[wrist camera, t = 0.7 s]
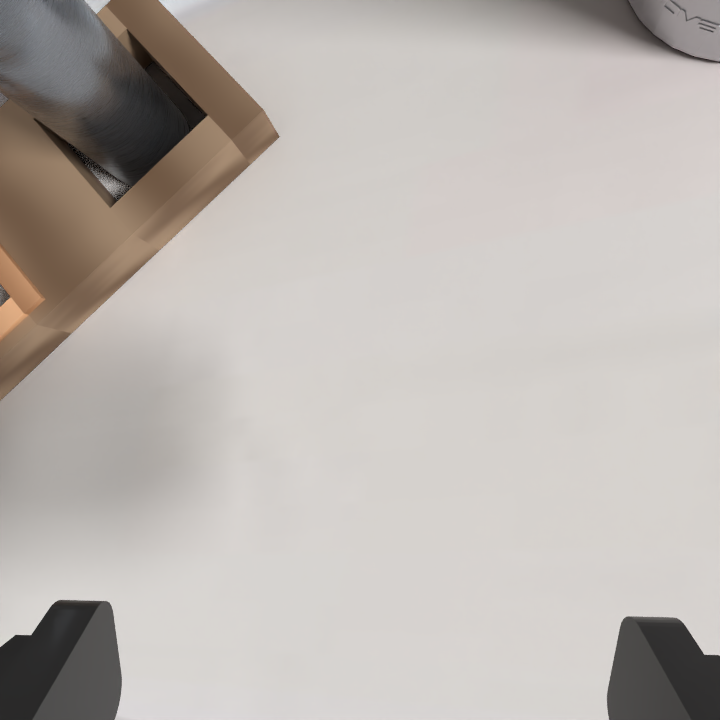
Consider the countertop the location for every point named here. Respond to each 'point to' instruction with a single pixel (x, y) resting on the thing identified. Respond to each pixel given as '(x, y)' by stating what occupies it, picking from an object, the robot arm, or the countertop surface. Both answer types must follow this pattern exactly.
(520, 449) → the countertop surface
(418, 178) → the countertop surface
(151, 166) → the metal peg
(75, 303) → the wooden peg holder
